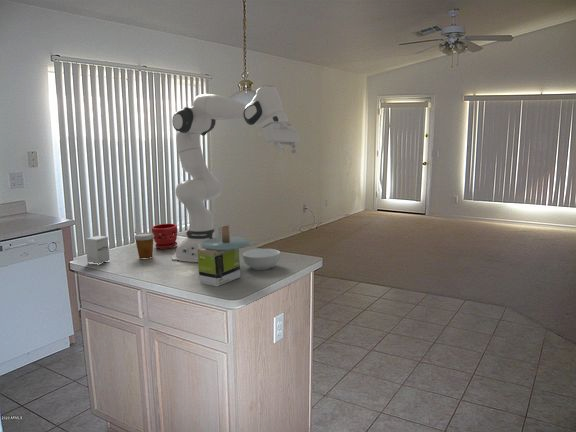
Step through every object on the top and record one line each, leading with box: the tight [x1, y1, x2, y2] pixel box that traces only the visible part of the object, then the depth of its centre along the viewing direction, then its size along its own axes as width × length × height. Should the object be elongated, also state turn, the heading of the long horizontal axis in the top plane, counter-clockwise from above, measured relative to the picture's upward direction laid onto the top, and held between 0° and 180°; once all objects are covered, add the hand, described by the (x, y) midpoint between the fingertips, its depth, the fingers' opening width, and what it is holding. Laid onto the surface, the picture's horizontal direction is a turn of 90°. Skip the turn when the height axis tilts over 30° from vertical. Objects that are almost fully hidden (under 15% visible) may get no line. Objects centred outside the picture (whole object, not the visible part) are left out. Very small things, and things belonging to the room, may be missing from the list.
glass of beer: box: [133, 232, 154, 259], centre depth 244 cm, size 10×10×12 cm
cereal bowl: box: [242, 248, 281, 271], centre depth 222 cm, size 17×17×7 cm
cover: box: [202, 224, 251, 250], centre depth 205 cm, size 20×20×8 cm
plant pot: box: [151, 223, 178, 250], centre depth 265 cm, size 13×13×12 cm
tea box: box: [197, 248, 241, 287], centre depth 204 cm, size 15×10×15 cm
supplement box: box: [85, 235, 110, 264], centre depth 236 cm, size 7×7×13 cm
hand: (288, 153), depth 200 cm, fingers open, 8 cm apart
